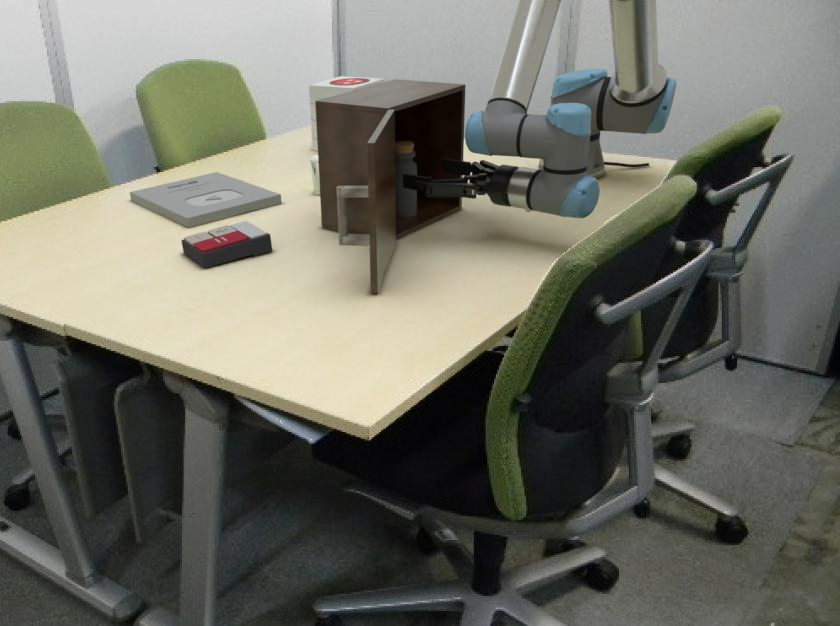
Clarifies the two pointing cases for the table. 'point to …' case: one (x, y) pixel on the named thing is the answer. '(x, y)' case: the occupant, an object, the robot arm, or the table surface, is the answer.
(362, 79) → the pizza boxes
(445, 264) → the table surface
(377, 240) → the cupboard door
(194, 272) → the table surface
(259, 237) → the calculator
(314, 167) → the milkshake
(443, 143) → the cupboard
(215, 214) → the award plaque
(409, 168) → the bottle
